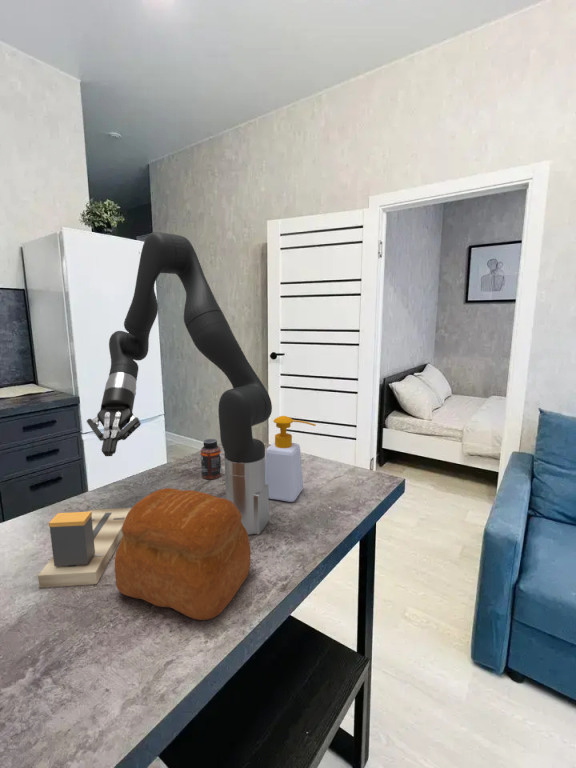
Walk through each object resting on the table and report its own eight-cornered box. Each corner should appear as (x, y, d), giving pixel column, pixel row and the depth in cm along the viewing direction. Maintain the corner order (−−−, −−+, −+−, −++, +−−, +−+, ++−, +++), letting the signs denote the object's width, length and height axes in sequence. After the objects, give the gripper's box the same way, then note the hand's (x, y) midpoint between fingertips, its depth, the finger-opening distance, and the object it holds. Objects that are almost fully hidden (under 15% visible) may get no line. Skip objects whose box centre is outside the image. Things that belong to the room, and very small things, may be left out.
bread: (168, 545, 85) (164, 471, 82) (258, 568, 77) (257, 488, 74) (104, 599, 69) (96, 511, 65) (210, 636, 61) (206, 537, 58)
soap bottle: (310, 507, 101) (311, 424, 97) (260, 498, 105) (259, 419, 101) (319, 491, 110) (320, 414, 106) (273, 484, 114) (273, 410, 110)
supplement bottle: (225, 474, 121) (224, 439, 119) (214, 481, 116) (212, 445, 114) (209, 470, 124) (208, 436, 122) (197, 477, 119) (196, 442, 117)
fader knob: (62, 554, 76) (58, 513, 75) (95, 552, 77) (91, 511, 75) (53, 566, 73) (48, 523, 71) (88, 564, 73) (83, 521, 72)
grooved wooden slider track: (90, 519, 95) (89, 509, 94) (133, 517, 96) (132, 507, 95) (39, 587, 71) (37, 575, 71) (96, 584, 72) (95, 571, 72)
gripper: (88, 386, 99) (72, 449, 89) (142, 385, 100) (132, 446, 90) (97, 402, 105) (84, 462, 95) (148, 400, 106) (140, 460, 96)
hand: (107, 454), depth 93 cm, fingers closed
